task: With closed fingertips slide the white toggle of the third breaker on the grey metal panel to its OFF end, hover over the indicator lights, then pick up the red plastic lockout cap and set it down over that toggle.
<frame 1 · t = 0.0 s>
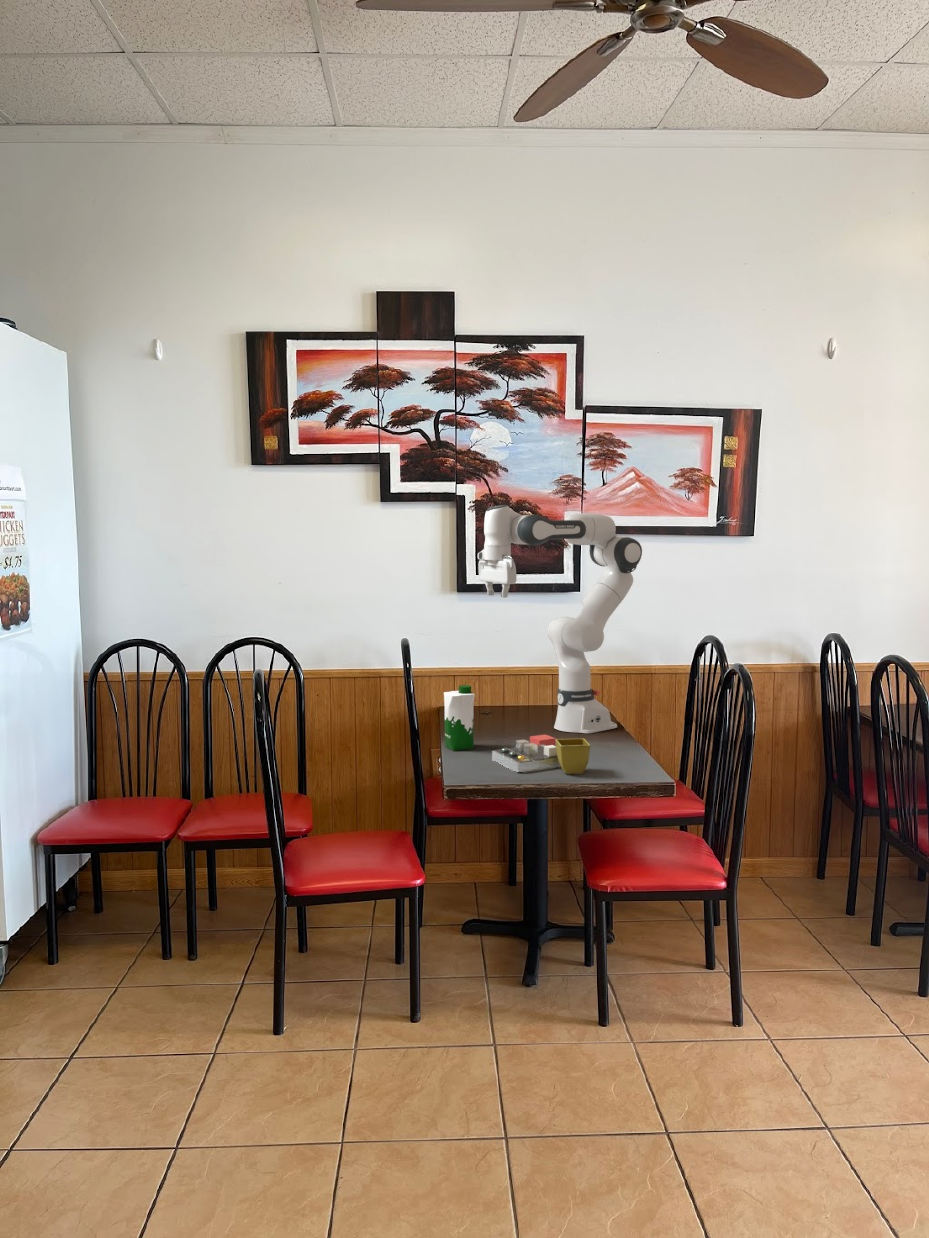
hand: (497, 596, 303), 48 cm above the table, tool pointing down, fingers open, 8 cm apart
breaker toggle: (550, 750, 273), point 5 cm above the table, slide at 0.0 cm
lockout cap: (542, 749, 293), on the table
breaker panel: (530, 763, 276), on the table
milk carton: (459, 748, 295), on the table
flower pot: (572, 772, 266), on the table
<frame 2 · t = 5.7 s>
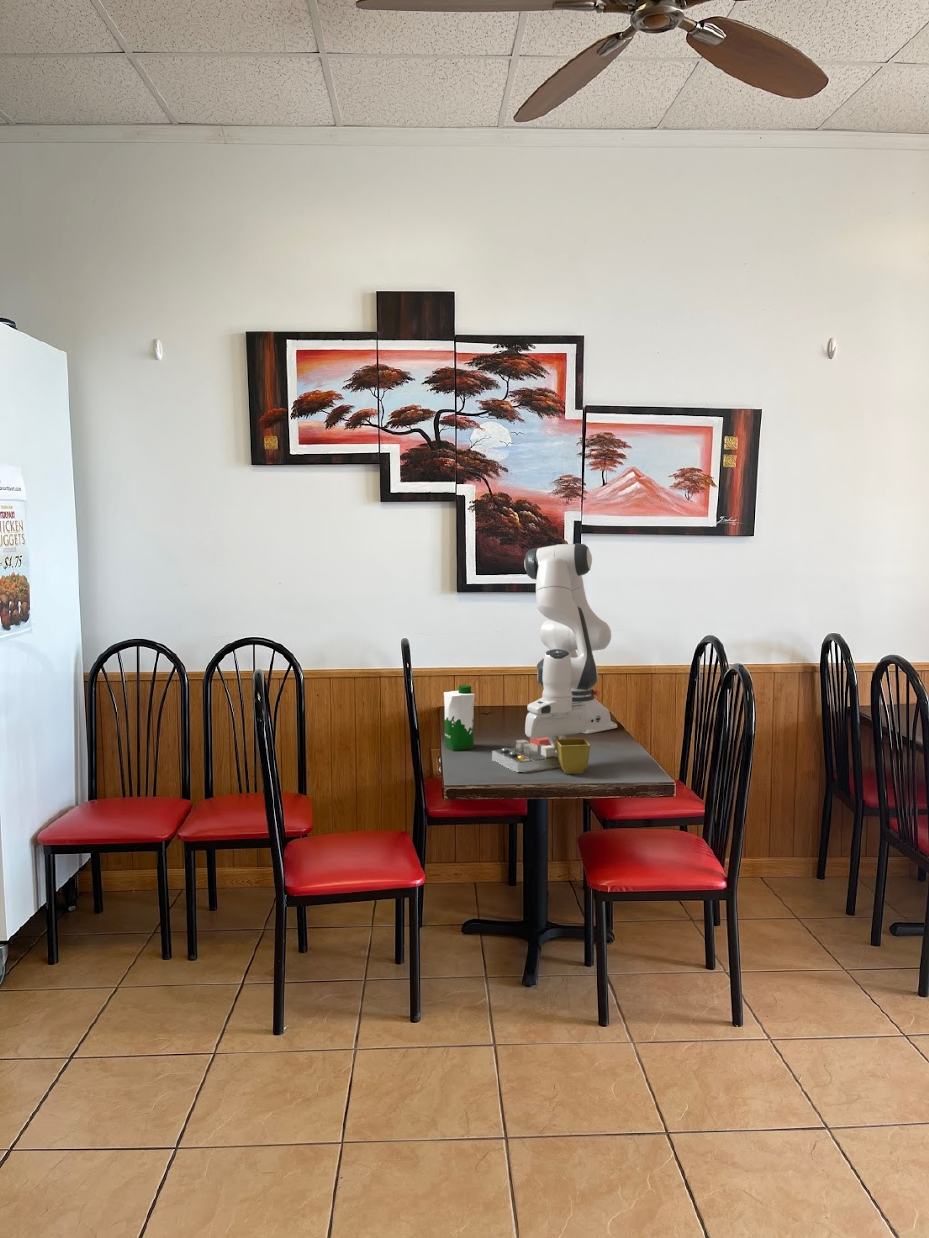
hand: (556, 749, 274), 5 cm above the table, tool pointing down, fingers closed
breaker toggle: (547, 751, 272), point 5 cm above the table, slide at 1.0 cm, touching gripper
everything else where it was.
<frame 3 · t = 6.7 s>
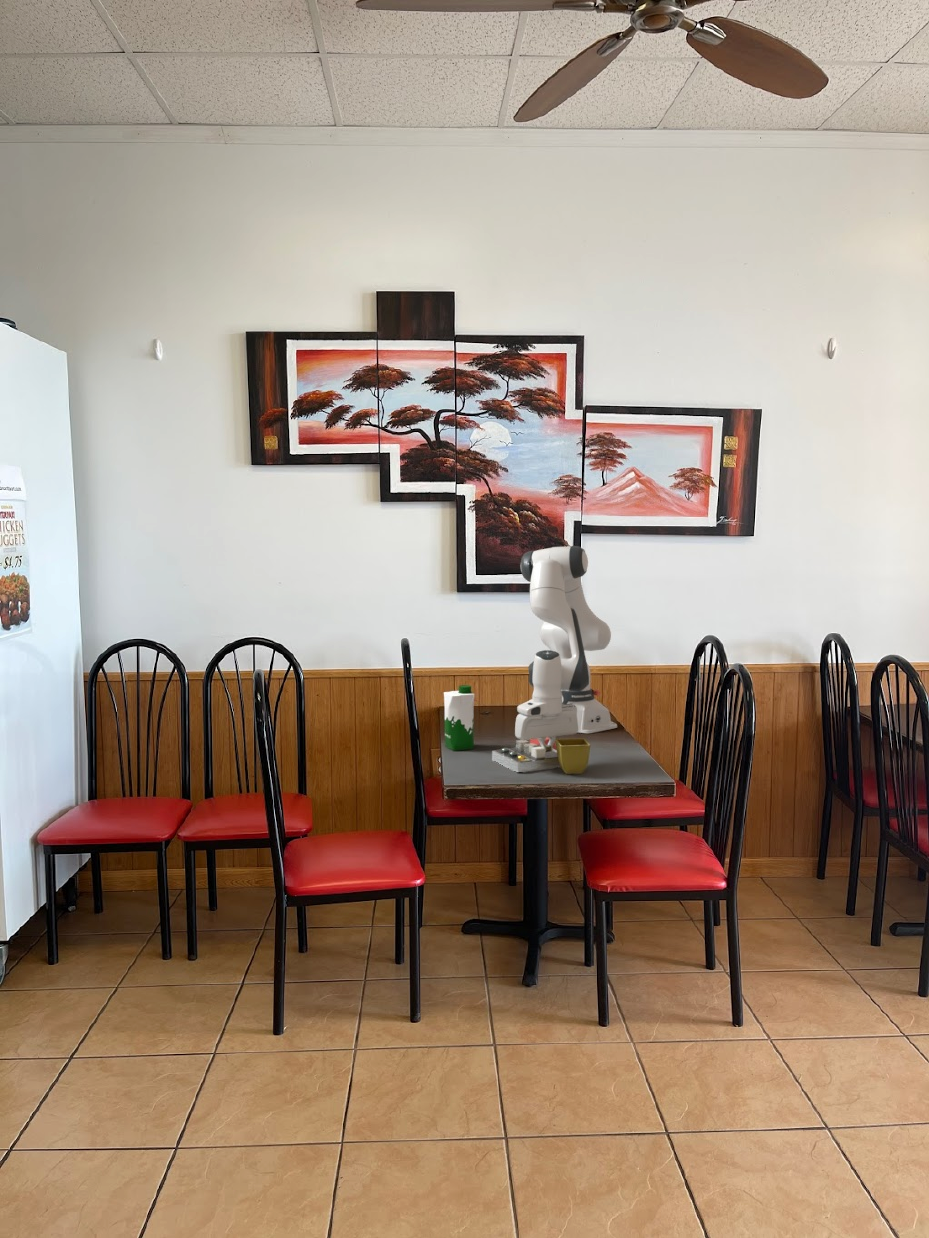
hand: (547, 751, 272), 4 cm above the table, tool pointing down, fingers closed
breaker toggle: (538, 752, 271), point 5 cm above the table, slide at 4.3 cm, touching gripper
everything else where it was.
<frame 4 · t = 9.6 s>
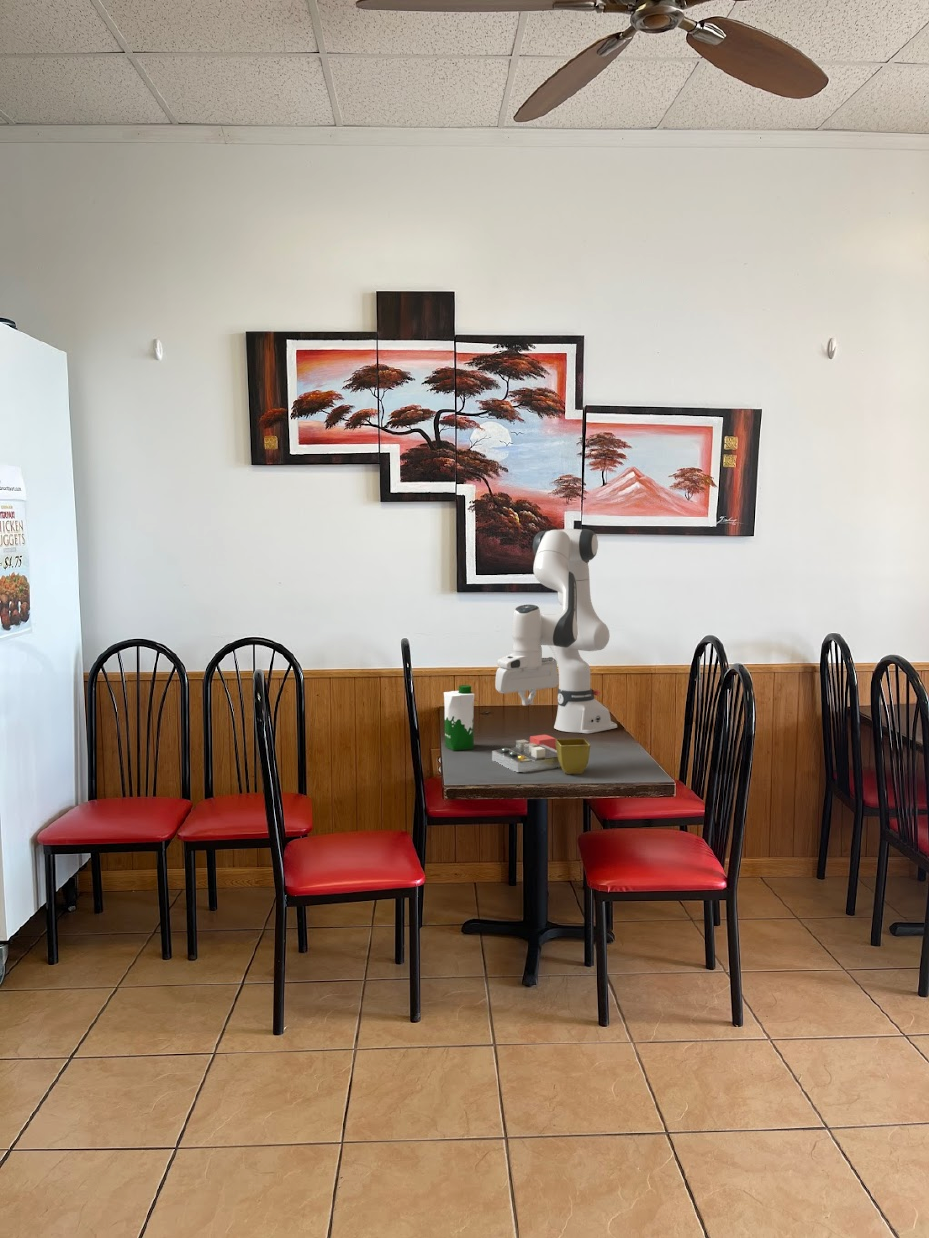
hand: (527, 704, 275), 18 cm above the table, tool pointing down, fingers closed
breaker toggle: (538, 752, 271), point 5 cm above the table, slide at 4.3 cm
everything else where it was.
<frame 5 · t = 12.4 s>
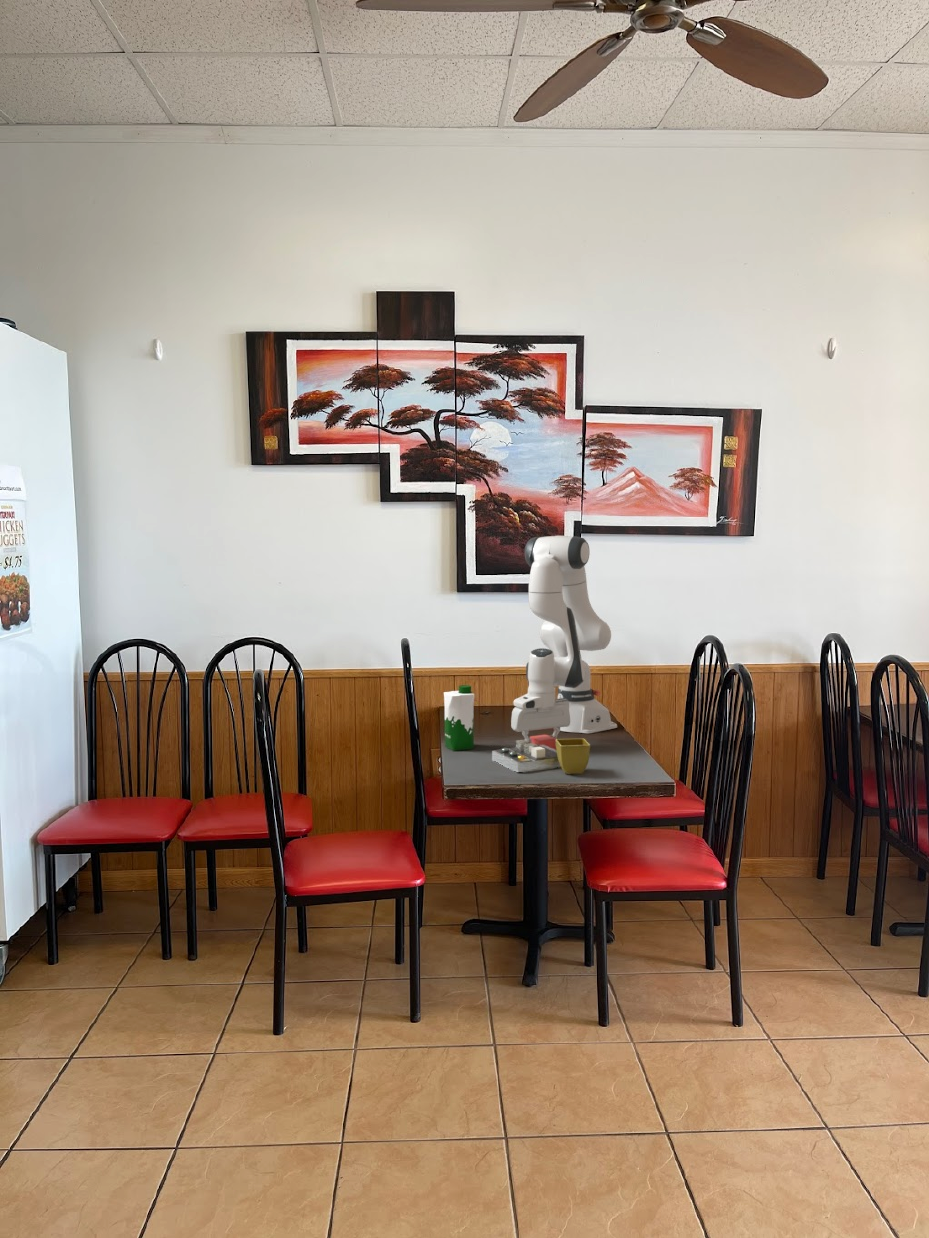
hand: (541, 742, 293), 2 cm above the table, tool pointing down, fingers open, 8 cm apart
nothing on the table moved.
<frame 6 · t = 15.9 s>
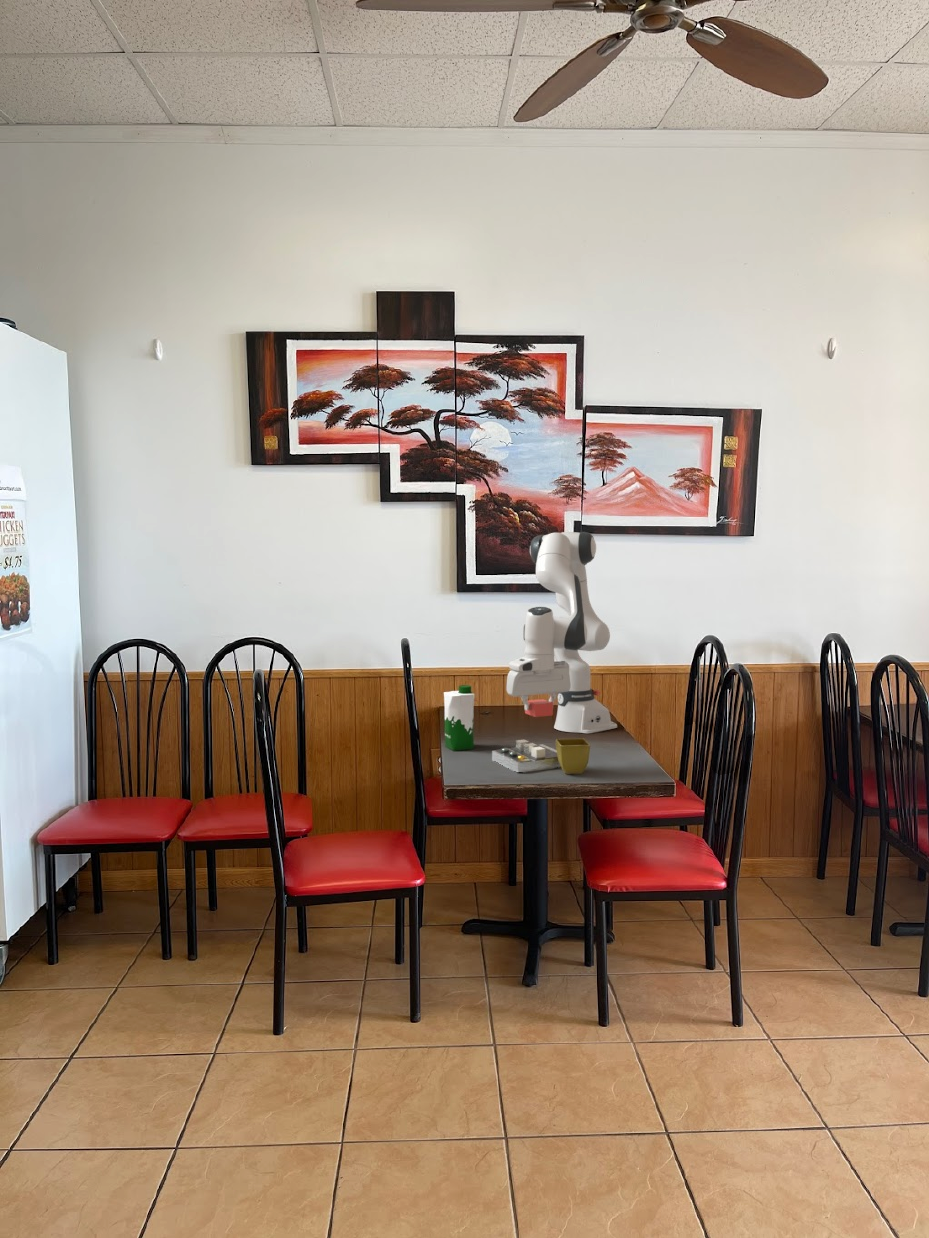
hand: (538, 708, 270), 18 cm above the table, tool pointing down, fingers closed on lockout cap, 6 cm apart
lockout cap: (538, 714, 270), point 16 cm above the table, touching gripper
everything else where it was.
when the fingers open (5 cm above the table, at t = 18.7 s): lockout cap stays where it is, resting on breaker panel.
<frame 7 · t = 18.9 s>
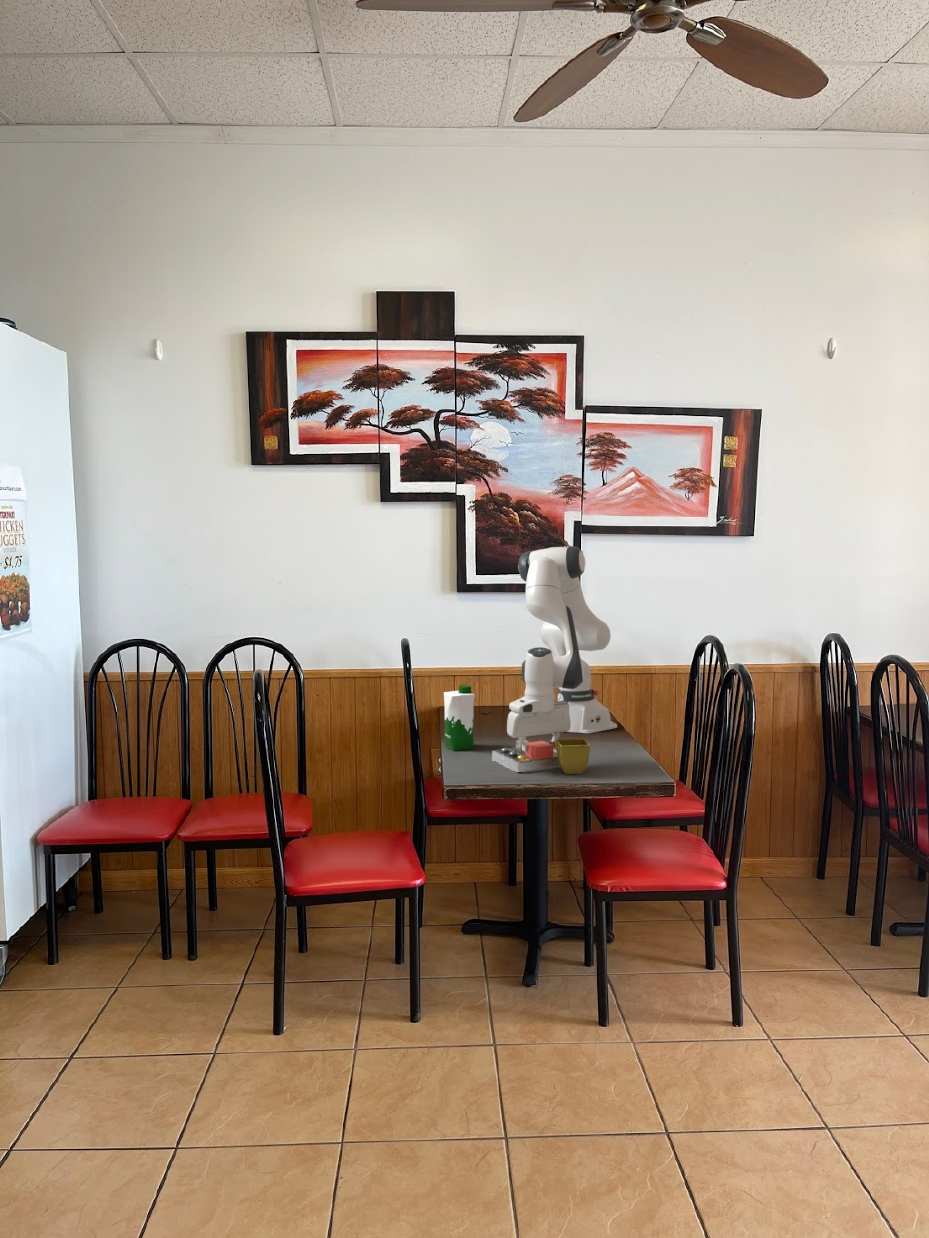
hand: (539, 748, 271), 5 cm above the table, tool pointing down, fingers open, 8 cm apart
lockout cap: (539, 756, 271), point 3 cm above the table, touching breaker panel
everything else where it was.
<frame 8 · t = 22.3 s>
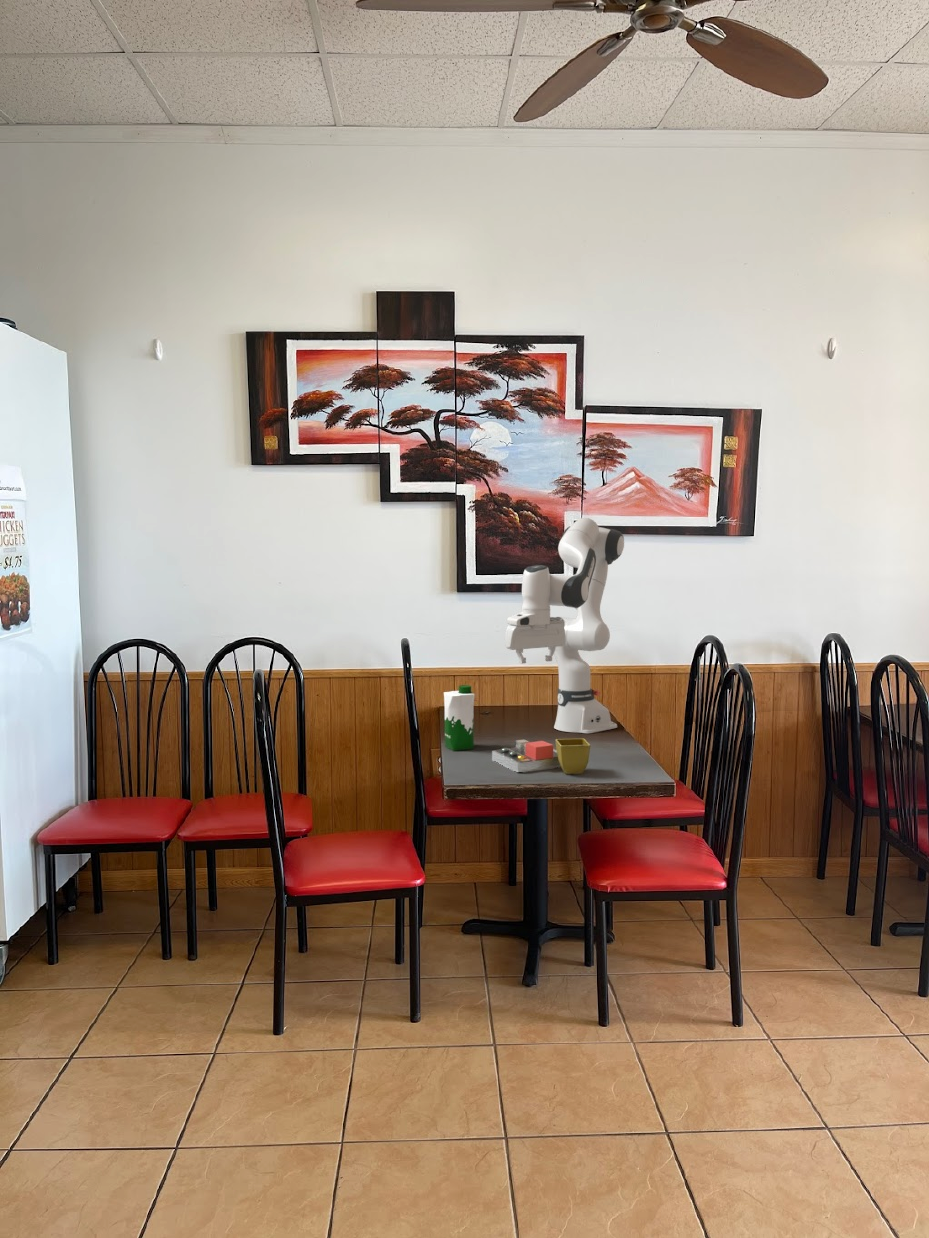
hand: (535, 662, 284), 29 cm above the table, tool pointing down, fingers open, 8 cm apart
nothing on the table moved.
at the end: breaker toggle slide at 4.3 cm; lockout cap 0.0 cm from the target spot, point 3.2 cm above the table; lockout cap tilted 0° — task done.
